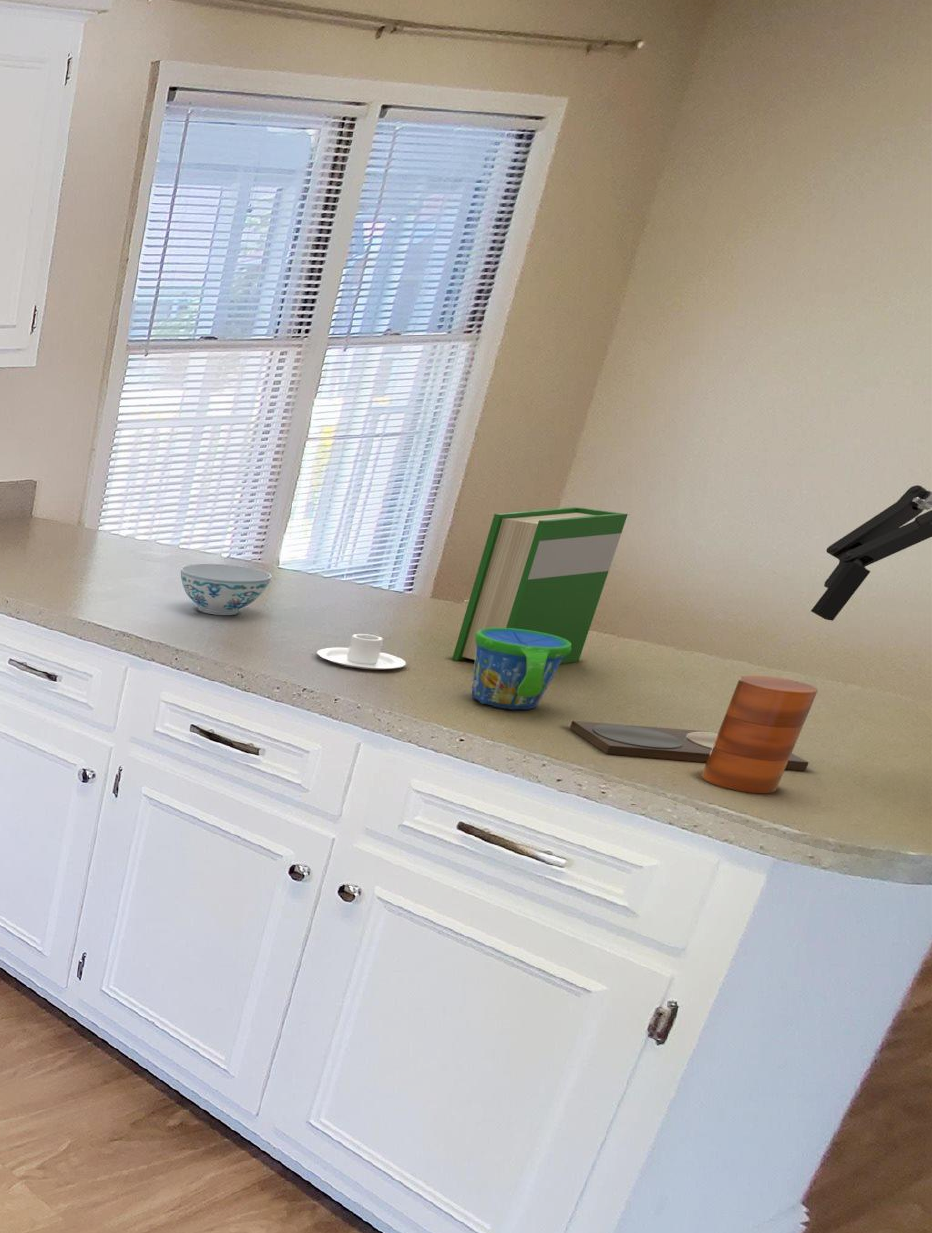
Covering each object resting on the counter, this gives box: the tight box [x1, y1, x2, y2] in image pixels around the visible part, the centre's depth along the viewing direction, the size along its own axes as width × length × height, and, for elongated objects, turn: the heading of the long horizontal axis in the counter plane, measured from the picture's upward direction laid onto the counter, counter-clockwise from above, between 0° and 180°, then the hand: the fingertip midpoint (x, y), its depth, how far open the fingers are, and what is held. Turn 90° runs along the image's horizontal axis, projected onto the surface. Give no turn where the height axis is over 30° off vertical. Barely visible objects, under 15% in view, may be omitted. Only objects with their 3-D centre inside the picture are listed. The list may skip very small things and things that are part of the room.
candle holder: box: [316, 633, 407, 670], centre depth 183 cm, size 12×12×4 cm
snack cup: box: [471, 628, 571, 711], centre depth 162 cm, size 16×10×10 cm
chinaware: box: [180, 563, 272, 616], centre depth 215 cm, size 15×15×8 cm
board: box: [569, 720, 809, 772], centre depth 146 cm, size 10×20×1 cm, turn 71°
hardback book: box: [451, 506, 629, 664], centre depth 179 cm, size 18×7×24 cm, turn 106°
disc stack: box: [701, 675, 819, 794], centre depth 134 cm, size 6×6×13 cm
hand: (891, 628), depth 128 cm, fingers open, 13 cm apart
